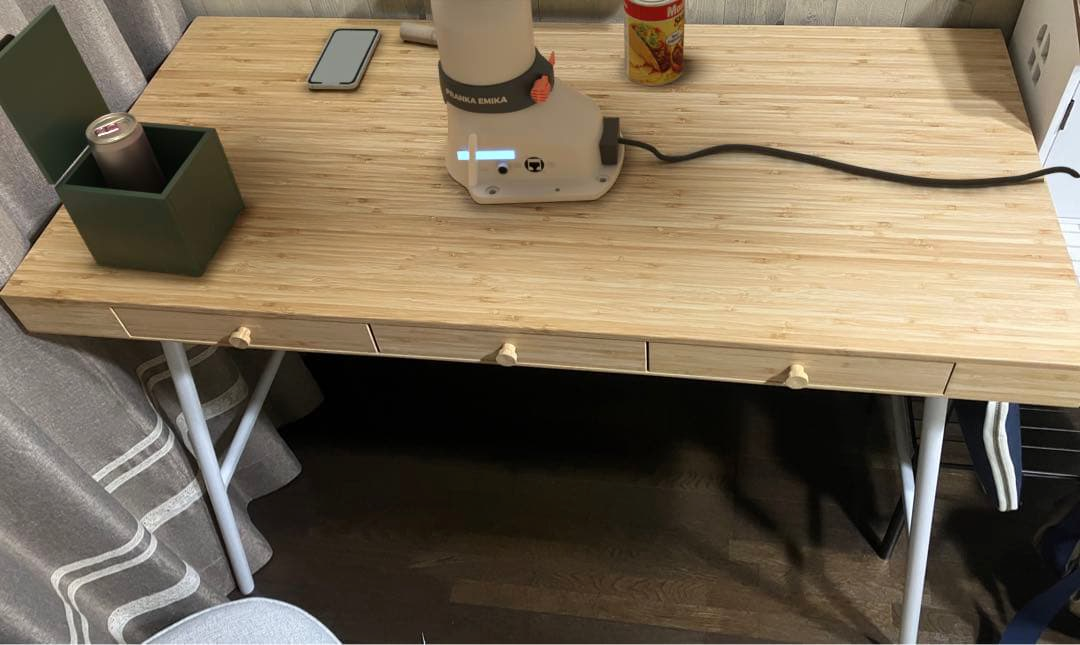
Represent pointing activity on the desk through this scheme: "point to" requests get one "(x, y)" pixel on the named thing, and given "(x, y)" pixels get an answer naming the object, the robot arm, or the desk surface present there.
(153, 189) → the beverage can
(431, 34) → the rod
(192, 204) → the dark green box
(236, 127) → the desk surface
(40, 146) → the lid
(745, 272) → the desk surface
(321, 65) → the smartphone
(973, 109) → the desk surface
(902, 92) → the desk surface
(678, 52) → the canned food
